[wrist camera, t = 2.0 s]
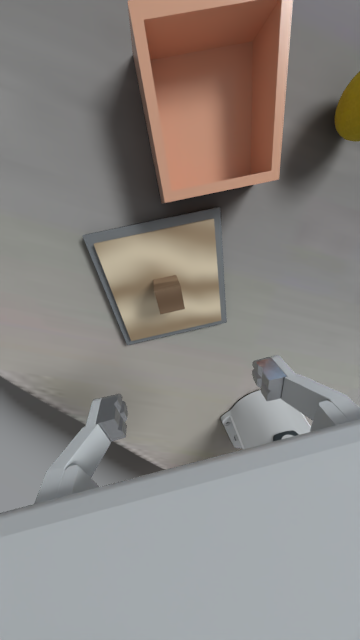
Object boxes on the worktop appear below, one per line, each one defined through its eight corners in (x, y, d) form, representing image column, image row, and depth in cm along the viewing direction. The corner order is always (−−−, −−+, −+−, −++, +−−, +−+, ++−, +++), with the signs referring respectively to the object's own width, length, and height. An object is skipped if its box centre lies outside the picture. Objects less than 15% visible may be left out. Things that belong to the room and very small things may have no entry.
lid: (220, 318, 30) (231, 335, 26) (131, 338, 30) (129, 358, 26) (212, 218, 23) (226, 221, 19) (94, 243, 22) (83, 251, 18)
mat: (224, 319, 31) (226, 322, 31) (127, 341, 31) (127, 345, 30) (217, 207, 23) (220, 207, 22) (84, 234, 23) (82, 235, 22)
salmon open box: (254, 184, 22) (278, 179, 18) (161, 203, 22) (164, 202, 18) (257, 31, 17) (295, -28, 12) (132, 54, 16) (127, 0, 12)
